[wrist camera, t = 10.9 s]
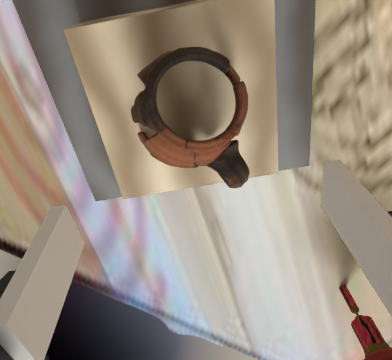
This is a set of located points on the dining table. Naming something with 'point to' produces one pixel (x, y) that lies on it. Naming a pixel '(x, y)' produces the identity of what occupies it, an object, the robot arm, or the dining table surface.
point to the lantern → (367, 332)
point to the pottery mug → (182, 147)
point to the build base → (79, 106)
